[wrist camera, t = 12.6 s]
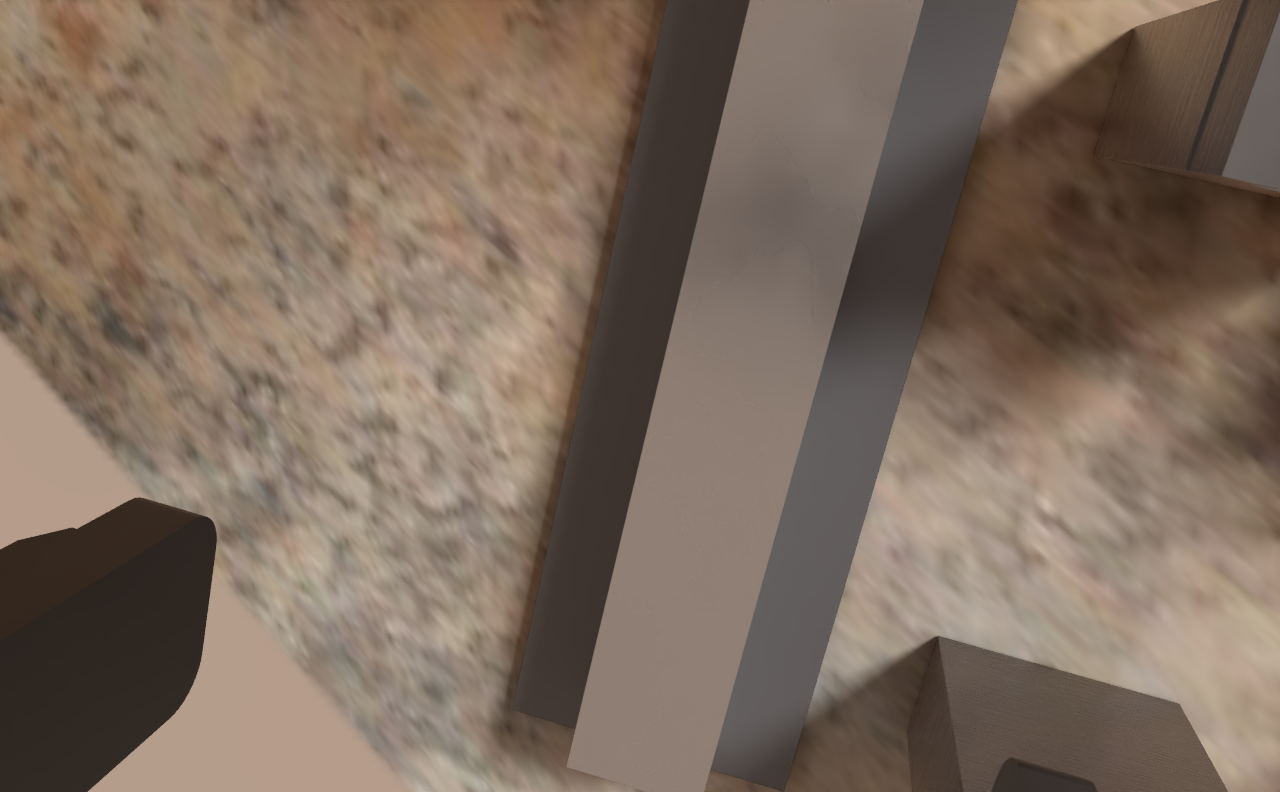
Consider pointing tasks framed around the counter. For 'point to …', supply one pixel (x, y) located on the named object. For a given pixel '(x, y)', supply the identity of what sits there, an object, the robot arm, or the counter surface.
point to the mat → (847, 387)
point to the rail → (739, 379)
